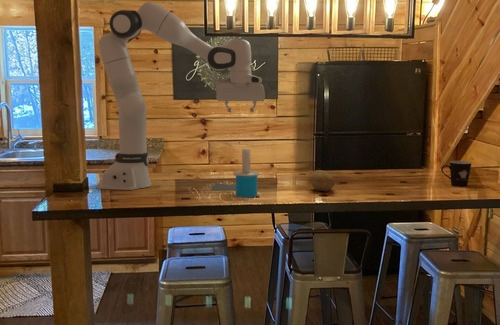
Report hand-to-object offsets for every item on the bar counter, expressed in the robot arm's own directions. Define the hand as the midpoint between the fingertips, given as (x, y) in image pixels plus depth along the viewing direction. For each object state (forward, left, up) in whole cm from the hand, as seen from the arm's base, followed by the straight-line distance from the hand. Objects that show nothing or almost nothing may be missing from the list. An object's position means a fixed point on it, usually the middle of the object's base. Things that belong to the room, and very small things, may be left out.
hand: (240, 112), depth 221 cm
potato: (+33, -12, -31) cm, 47 cm away
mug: (+2, -19, -31) cm, 37 cm away
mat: (-5, -6, -31) cm, 32 cm away
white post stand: (+2, -19, -23) cm, 30 cm away
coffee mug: (+92, -1, -31) cm, 97 cm away
